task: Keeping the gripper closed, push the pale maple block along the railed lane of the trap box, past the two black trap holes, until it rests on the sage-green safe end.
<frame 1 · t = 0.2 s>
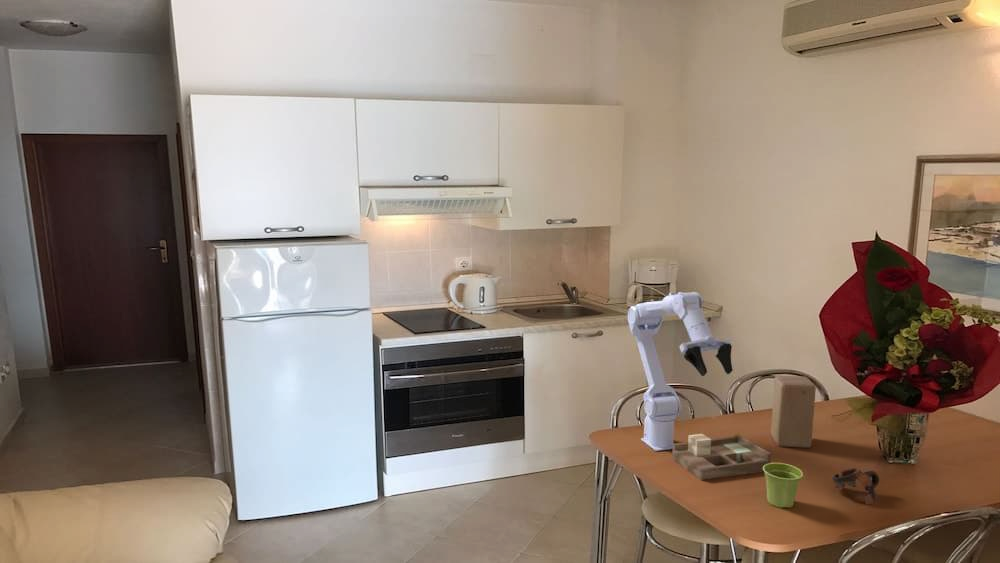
hand: (717, 373, 181), 31 cm above the table, tool tilted 45°, fingers open, 7 cm apart
plant pot: (780, 503, 175), on the table
wooden block: (790, 442, 215), on the table
maple block: (699, 452, 199), point 3 cm above the table, touching trap box
trap box: (720, 464, 198), on the table
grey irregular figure: (857, 496, 179), on the table
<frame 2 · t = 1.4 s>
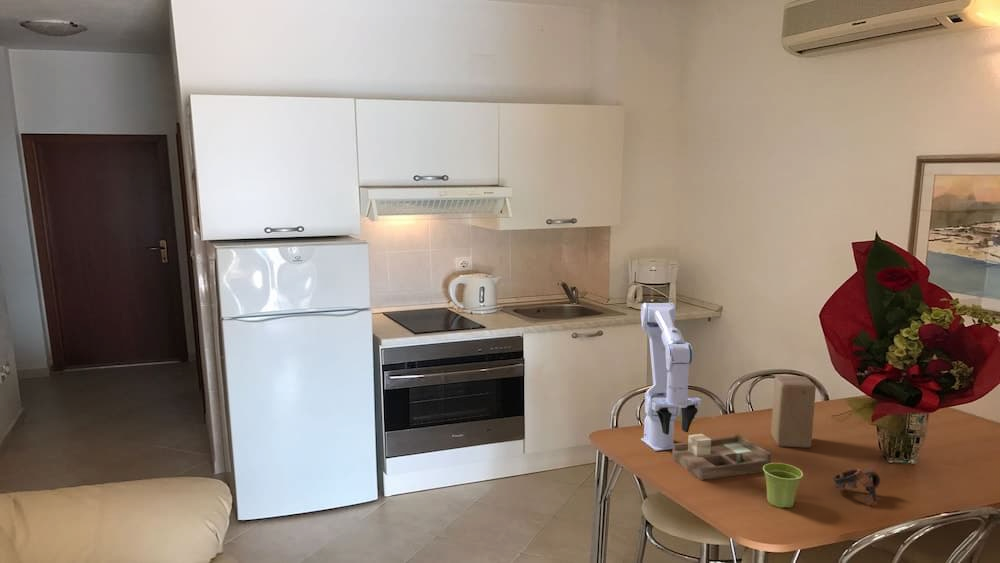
hand: (675, 432, 196), 10 cm above the table, tool pointing down, fingers open, 6 cm apart
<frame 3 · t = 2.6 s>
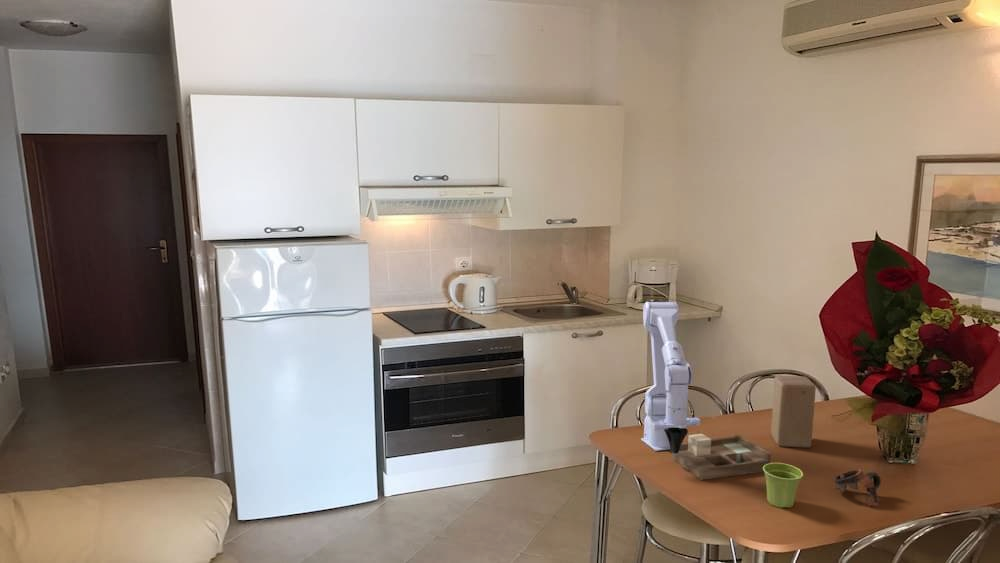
hand: (674, 452, 197), 4 cm above the table, tool pointing down, fingers closed
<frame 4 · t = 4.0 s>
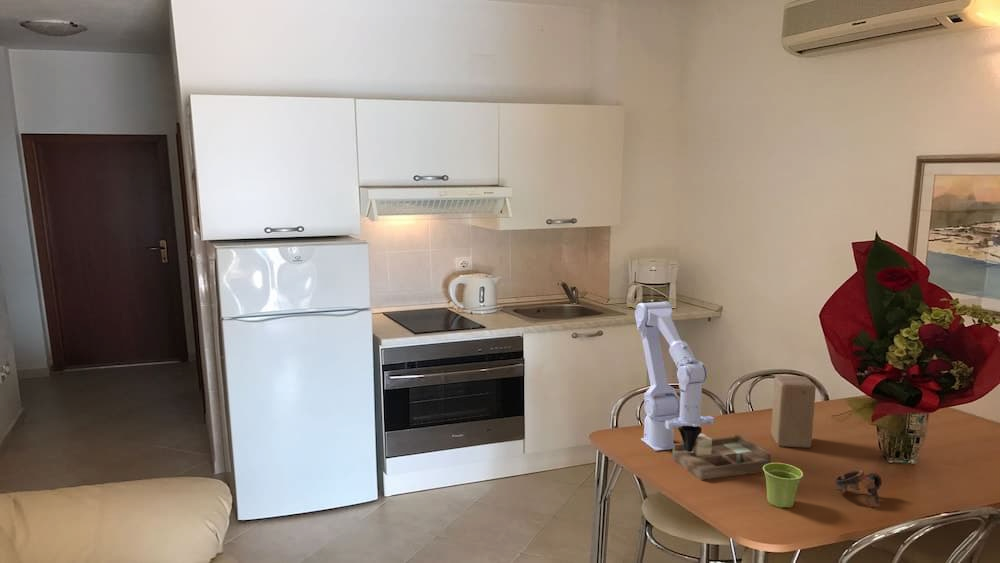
hand: (688, 450, 198), 4 cm above the table, tool pointing down, fingers closed
maple block: (699, 452, 199), point 3 cm above the table, touching gripper
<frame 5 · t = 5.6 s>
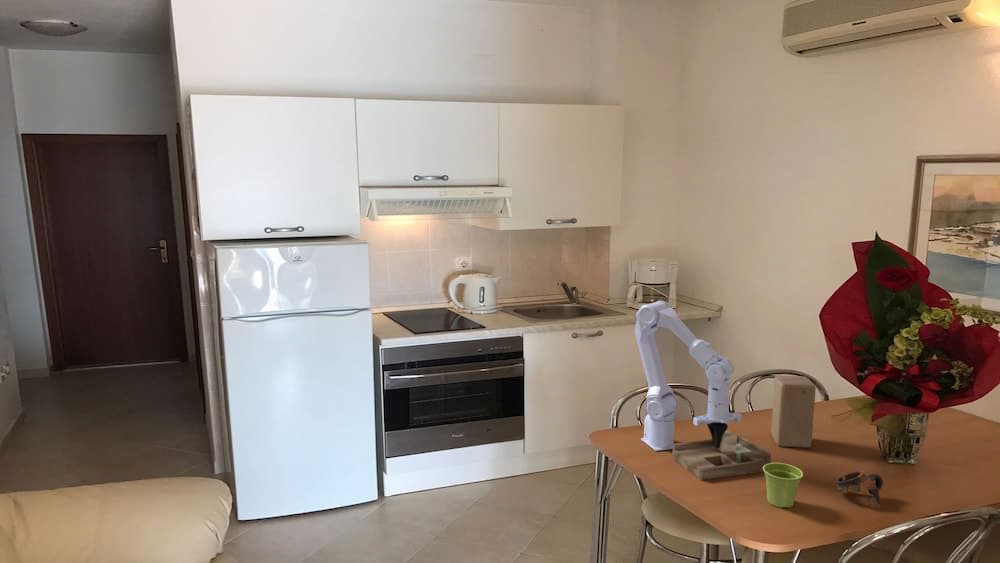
hand: (715, 446, 200), 4 cm above the table, tool pointing down, fingers closed, pressing on maple block
maple block: (724, 448, 201), point 3 cm above the table, touching gripper, trap box
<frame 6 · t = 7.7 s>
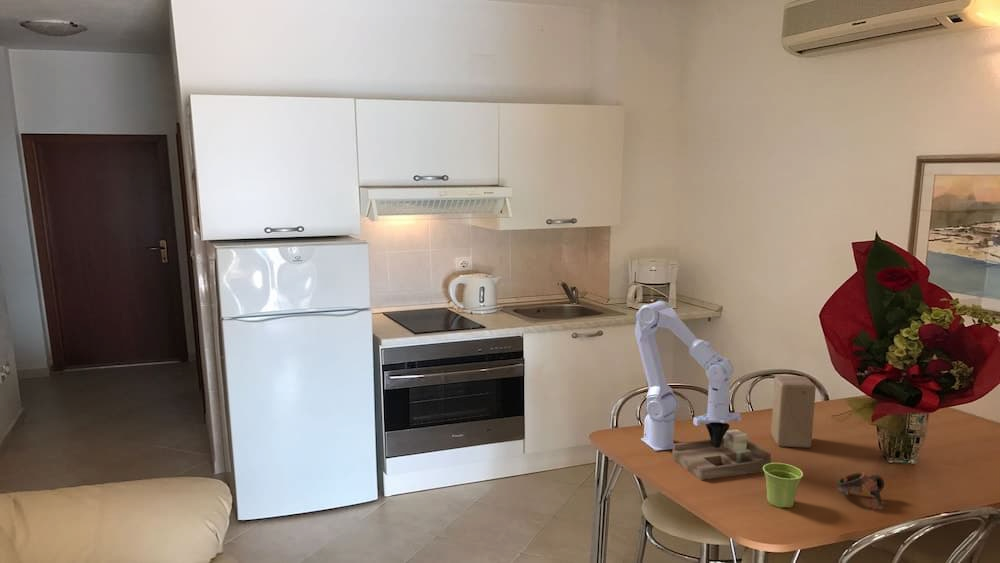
hand: (715, 446, 200), 4 cm above the table, tool pointing down, fingers closed
maple block: (735, 447, 202), point 3 cm above the table, touching trap box
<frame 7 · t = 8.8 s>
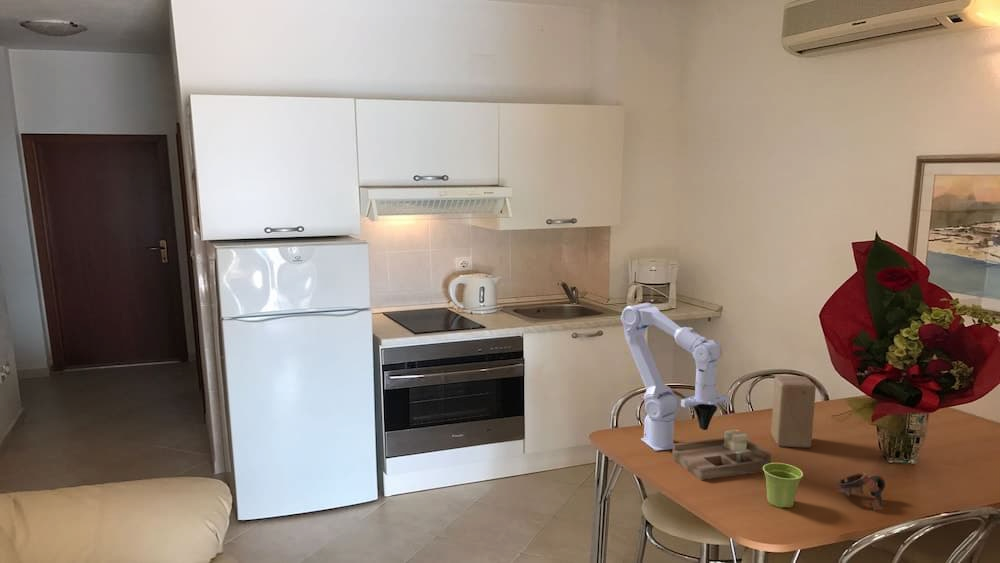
hand: (703, 428, 200), 9 cm above the table, tool pointing down, fingers closed
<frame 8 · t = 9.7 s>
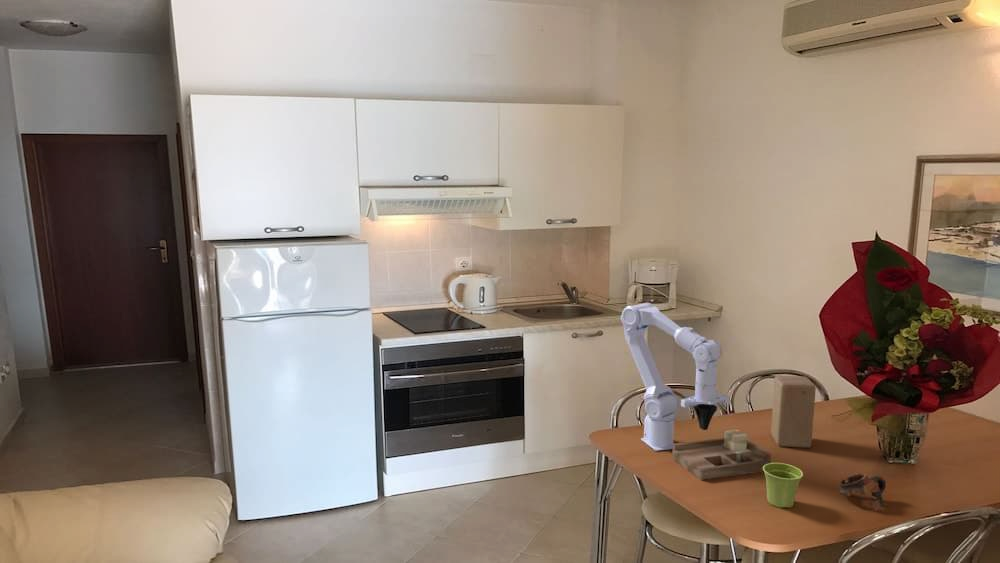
hand: (703, 428, 200), 9 cm above the table, tool pointing down, fingers closed
at the end: maple block 0.8 cm from the target spot on the trap box, point 3.0 cm above the trap box's base; maple block tilted 0° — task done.
